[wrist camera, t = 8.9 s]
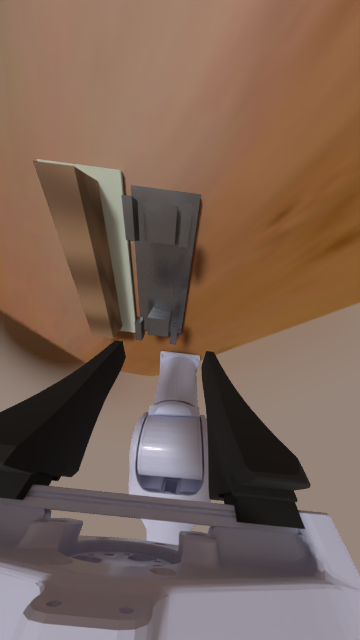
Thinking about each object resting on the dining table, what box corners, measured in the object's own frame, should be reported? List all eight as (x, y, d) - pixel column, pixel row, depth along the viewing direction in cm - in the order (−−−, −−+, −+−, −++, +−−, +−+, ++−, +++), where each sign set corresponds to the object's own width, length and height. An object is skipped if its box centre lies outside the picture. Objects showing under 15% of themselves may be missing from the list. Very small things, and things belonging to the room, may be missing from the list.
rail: (122, 326, 23) (113, 338, 20) (104, 324, 23) (92, 336, 20) (97, 181, 13) (73, 166, 10) (65, 177, 13) (32, 160, 10)
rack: (181, 332, 23) (179, 352, 19) (142, 327, 23) (132, 346, 19) (200, 196, 13) (205, 177, 9) (133, 187, 13) (108, 164, 9)
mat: (137, 331, 23) (136, 332, 23) (93, 326, 23) (91, 327, 23) (122, 171, 13) (120, 170, 12) (40, 161, 13) (36, 159, 12)
